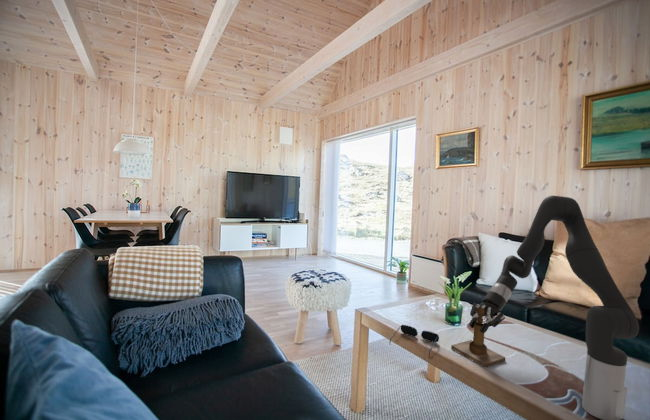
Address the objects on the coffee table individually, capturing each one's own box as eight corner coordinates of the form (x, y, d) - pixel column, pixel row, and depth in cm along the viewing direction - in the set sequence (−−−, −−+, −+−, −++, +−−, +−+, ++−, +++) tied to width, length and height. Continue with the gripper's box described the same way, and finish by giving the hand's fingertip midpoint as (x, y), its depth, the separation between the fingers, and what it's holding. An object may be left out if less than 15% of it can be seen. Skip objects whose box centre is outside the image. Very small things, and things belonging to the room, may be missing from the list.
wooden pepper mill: (488, 355, 132) (491, 311, 131) (471, 353, 133) (474, 309, 132) (484, 348, 138) (486, 305, 137) (467, 346, 139) (470, 304, 138)
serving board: (505, 361, 131) (505, 357, 131) (485, 367, 126) (485, 363, 125) (470, 343, 145) (470, 340, 145) (451, 348, 140) (451, 345, 140)
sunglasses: (439, 344, 144) (439, 333, 143) (429, 362, 132) (429, 351, 131) (401, 333, 154) (401, 323, 153) (388, 349, 142) (388, 339, 141)
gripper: (478, 286, 143) (457, 317, 139) (510, 296, 131) (488, 331, 126) (486, 296, 146) (465, 327, 141) (517, 307, 134) (496, 342, 129)
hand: (476, 329), depth 134 cm, fingers open, 4 cm apart
